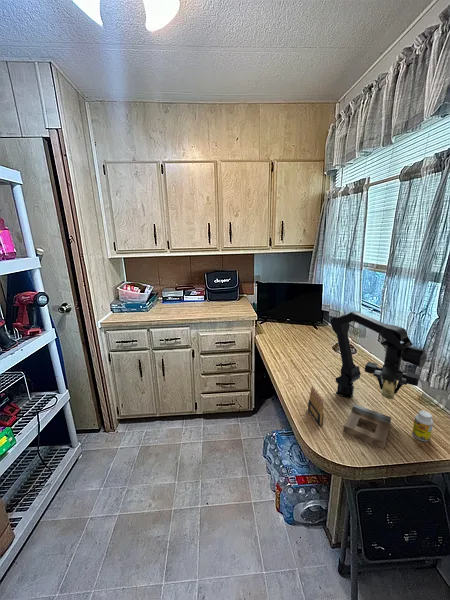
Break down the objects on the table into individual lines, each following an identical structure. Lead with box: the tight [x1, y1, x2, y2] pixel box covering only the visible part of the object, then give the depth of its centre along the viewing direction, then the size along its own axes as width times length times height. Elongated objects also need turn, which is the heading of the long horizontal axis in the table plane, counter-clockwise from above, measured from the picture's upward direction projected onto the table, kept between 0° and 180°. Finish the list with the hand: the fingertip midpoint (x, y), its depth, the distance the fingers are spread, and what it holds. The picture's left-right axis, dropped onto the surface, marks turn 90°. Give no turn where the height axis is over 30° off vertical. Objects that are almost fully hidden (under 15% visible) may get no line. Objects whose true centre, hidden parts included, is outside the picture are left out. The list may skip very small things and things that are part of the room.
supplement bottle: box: [411, 410, 434, 442], centre depth 98 cm, size 6×6×10 cm
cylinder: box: [380, 380, 398, 400], centre depth 109 cm, size 5×5×8 cm
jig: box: [342, 403, 392, 450], centre depth 103 cm, size 14×14×5 cm
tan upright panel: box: [307, 386, 325, 426], centre depth 110 cm, size 11×2×12 cm, turn 6°
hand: (388, 391), depth 109 cm, fingers closed on cylinder, 5 cm apart
